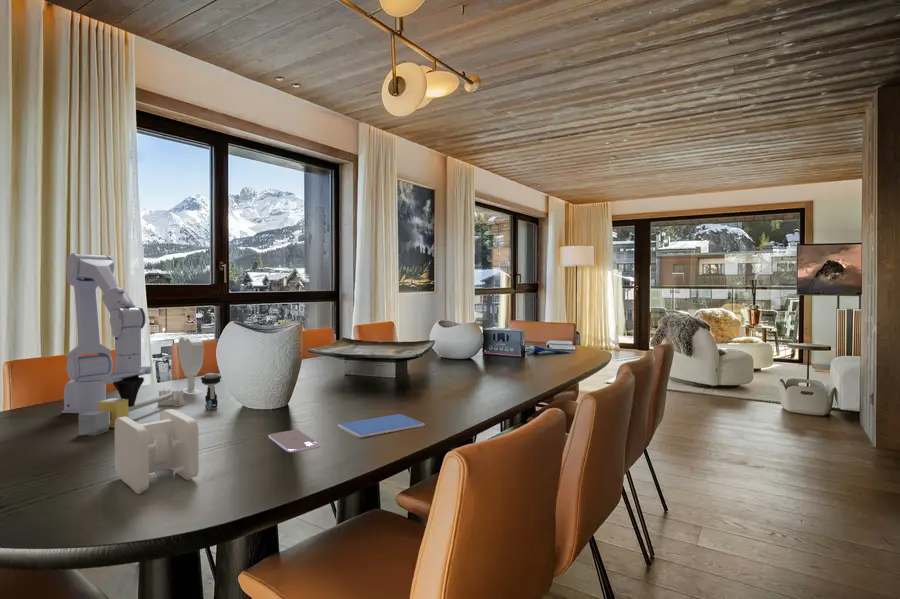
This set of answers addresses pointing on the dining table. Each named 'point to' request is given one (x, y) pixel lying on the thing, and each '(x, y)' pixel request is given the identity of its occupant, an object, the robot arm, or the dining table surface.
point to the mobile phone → (293, 441)
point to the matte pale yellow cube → (114, 408)
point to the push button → (211, 389)
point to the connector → (94, 422)
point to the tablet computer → (379, 425)
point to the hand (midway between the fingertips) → (128, 406)
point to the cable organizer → (156, 448)
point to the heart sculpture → (191, 359)
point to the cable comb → (176, 397)
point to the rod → (149, 402)
